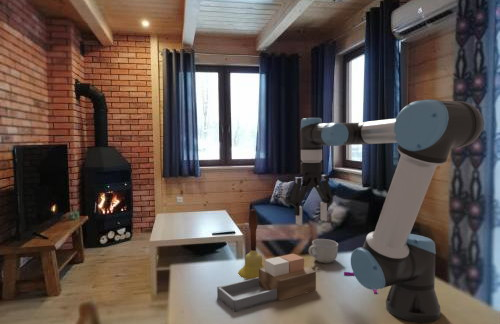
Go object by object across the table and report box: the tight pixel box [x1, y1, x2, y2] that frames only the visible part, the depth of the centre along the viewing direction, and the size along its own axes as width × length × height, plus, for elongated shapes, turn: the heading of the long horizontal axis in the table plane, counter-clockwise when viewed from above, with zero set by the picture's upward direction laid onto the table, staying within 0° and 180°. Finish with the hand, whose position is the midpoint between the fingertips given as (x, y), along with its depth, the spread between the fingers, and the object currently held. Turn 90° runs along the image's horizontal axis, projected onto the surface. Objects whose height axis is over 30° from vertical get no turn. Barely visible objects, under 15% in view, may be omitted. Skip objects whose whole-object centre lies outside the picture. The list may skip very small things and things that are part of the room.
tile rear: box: [279, 253, 305, 273], centre depth 133 cm, size 6×6×4 cm
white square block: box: [264, 256, 289, 277], centre depth 130 cm, size 6×6×4 cm
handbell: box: [237, 208, 265, 280], centre depth 146 cm, size 12×12×25 cm
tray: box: [216, 277, 278, 313], centre depth 125 cm, size 12×16×4 cm
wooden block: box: [259, 265, 317, 301], centre depth 132 cm, size 13×15×6 cm
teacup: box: [308, 238, 339, 264], centre depth 159 cm, size 14×11×8 cm
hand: (311, 222), depth 137 cm, fingers open, 11 cm apart
